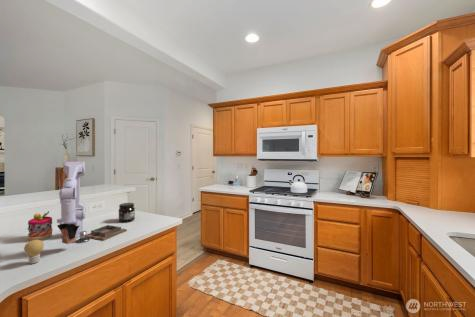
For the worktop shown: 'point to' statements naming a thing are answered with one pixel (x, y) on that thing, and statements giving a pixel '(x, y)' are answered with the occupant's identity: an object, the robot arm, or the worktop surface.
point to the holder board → (105, 232)
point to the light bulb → (34, 250)
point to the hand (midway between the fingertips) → (68, 238)
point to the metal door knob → (83, 237)
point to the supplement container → (126, 212)
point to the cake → (40, 227)
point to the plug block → (66, 237)
